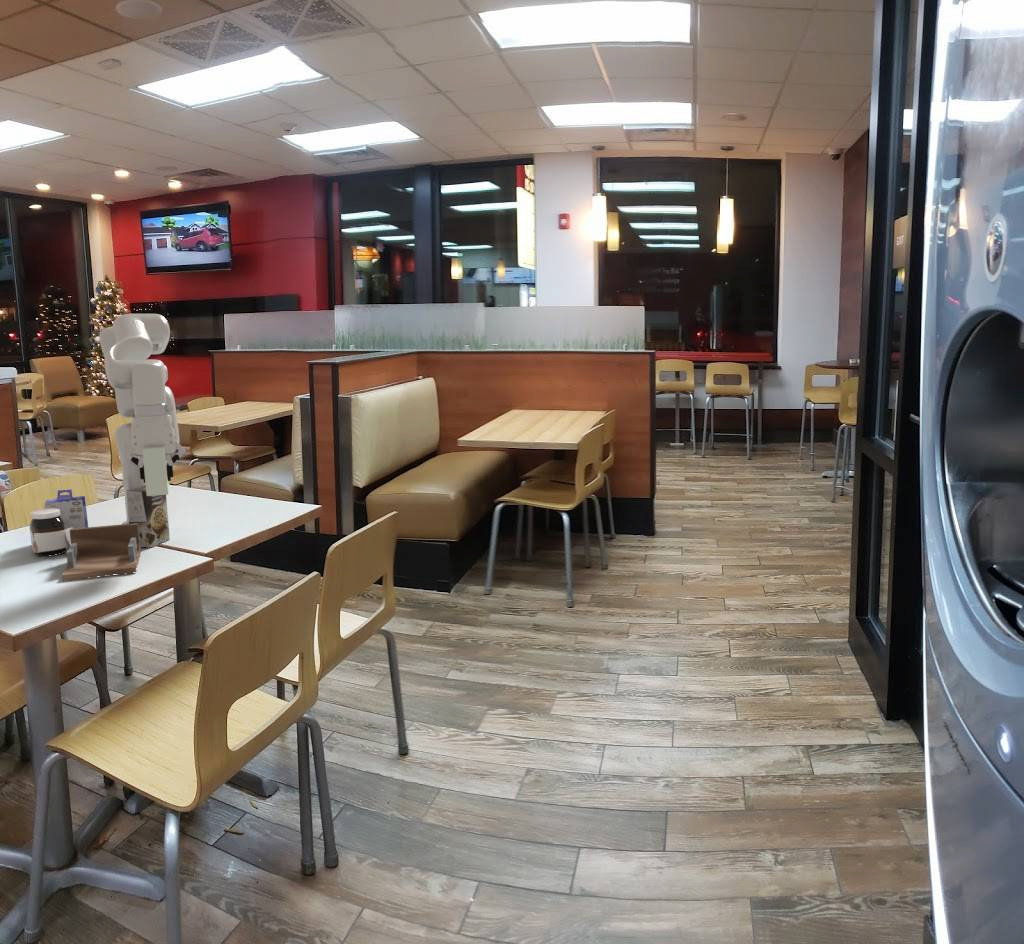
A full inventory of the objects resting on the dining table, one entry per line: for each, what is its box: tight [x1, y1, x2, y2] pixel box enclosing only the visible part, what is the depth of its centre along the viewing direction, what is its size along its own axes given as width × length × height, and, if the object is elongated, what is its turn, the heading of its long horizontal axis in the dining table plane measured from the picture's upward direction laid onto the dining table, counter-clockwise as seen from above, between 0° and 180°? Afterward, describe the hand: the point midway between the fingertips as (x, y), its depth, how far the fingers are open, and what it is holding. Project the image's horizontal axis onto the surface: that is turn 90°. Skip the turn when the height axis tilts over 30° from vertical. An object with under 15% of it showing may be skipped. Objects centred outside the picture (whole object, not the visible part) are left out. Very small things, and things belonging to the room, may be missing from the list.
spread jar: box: [29, 508, 74, 557], centre depth 217 cm, size 12×11×12 cm
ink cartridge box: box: [44, 489, 89, 543], centre depth 228 cm, size 10×6×14 cm, turn 112°
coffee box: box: [126, 485, 171, 549], centre depth 225 cm, size 9×6×16 cm
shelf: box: [61, 523, 142, 582], centre depth 204 cm, size 18×16×8 cm
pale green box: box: [142, 446, 170, 496], centre depth 207 cm, size 10×5×12 cm, turn 21°
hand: (157, 480), depth 207 cm, fingers closed on pale green box, 5 cm apart
